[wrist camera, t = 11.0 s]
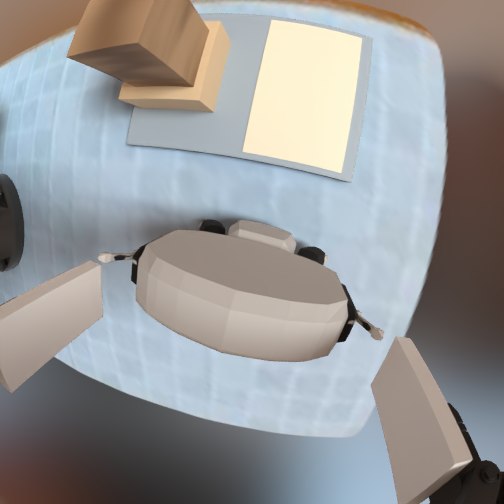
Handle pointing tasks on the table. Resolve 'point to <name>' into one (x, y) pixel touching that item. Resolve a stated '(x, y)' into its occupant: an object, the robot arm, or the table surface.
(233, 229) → the robot toy
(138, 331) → the table surface
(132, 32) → the walnut block
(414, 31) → the table surface
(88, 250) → the table surface
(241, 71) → the board
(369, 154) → the table surface
